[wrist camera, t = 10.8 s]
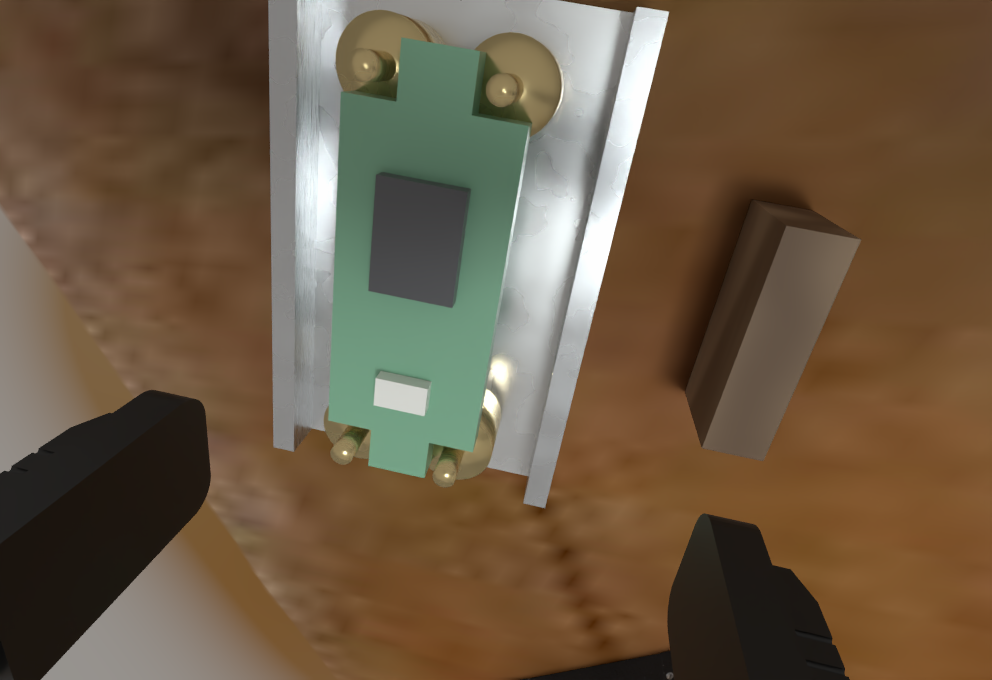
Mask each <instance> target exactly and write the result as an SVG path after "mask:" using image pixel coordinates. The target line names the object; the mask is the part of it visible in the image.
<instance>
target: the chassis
mask: <svg viewBox="0 0 992 680" xmlns="http://www.w3.org/2000/svg"><path fill="white" fill-rule="evenodd" d="M268 9H269V95H270V180H271V266H272V351H273V437H274V447H276V448H280V449H285V450H289V451H293V452H294V451H295V450H296V448H297V447H298V446H299V444H300V443H301V442H302V441H303V439H304V438H305V437H306V436H307V434H308V433H309V432H310V430H311V429H312V428H313V429H318V430H322V431H326V434H327V436H328V437H329V439H330V440H331V442H332V443H333V444H334V446H333V448H332V449H331V457H332V459H333V460H334V461H335V462H337V463H339V464H348V463H350V462H351V460H352V459H353V457H357V458H364V459H369V451H370V438H371V430H369V429H365V428H360V427H355V426H351V425H346V424H342V423H337V422H333V421H328V415H329V388H330V362H331V336H332V309H333V283H334V257H335V230H336V204H337V178H338V151H339V125H340V99H341V92H344V91H359V92H364V93H370V94H375V95H381V96H386V97H392V98H397V87H398V74H399V61H400V48H401V37H402V38H408V39H414V40H420V41H425V42H431V43H437V44H442V45H448V46H454V47H460V48H465V49H471V50H477V51H482V52H486V60H485V67H484V75H483V82H482V90H481V97H480V104H479V112H478V113H480V114H485V115H491V116H496V117H502V118H507V119H513V120H518V121H524V122H529V123H532V128H531V134H530V140H529V145H528V151H527V157H526V163H525V168H524V174H523V180H522V186H521V191H520V197H519V203H518V209H517V214H516V220H515V226H514V231H513V237H512V243H511V249H510V254H509V260H508V266H507V272H506V277H505V283H504V289H503V295H502V300H501V306H500V312H499V318H498V323H497V329H496V335H495V341H494V346H493V352H492V358H491V364H490V369H489V375H488V381H487V387H486V392H485V398H484V404H483V410H482V415H481V421H480V427H479V432H478V437H477V440H476V444H475V447H474V450H473V452H469V451H464V450H460V449H455V448H451V447H446V446H442V445H437V444H434V445H433V453H432V460H431V463H430V465H429V468H430V469H431V470H433V471H434V473H433V480H434V482H435V483H436V484H437V485H439V486H441V487H450V486H452V485H453V484H454V482H455V479H468V478H472V477H474V476H477V475H478V474H480V473H481V472H483V471H484V470H485V469H486V467H489V468H494V469H498V470H503V471H507V472H512V473H516V474H521V475H525V476H527V483H526V489H525V496H524V502H523V503H525V504H529V505H534V506H538V507H543V508H545V505H546V501H547V497H548V493H549V489H550V485H551V481H552V477H553V473H554V469H555V465H556V461H557V457H558V453H559V449H560V445H561V441H562V437H563V434H564V430H565V426H566V422H567V418H568V414H569V410H570V406H571V402H572V398H573V394H574V390H575V386H576V382H577V378H578V374H579V370H580V366H581V362H582V358H583V354H584V350H585V346H586V342H587V338H588V334H589V330H590V326H591V322H592V318H593V314H594V310H595V306H596V302H597V298H598V294H599V290H600V286H601V282H602V278H603V274H604V270H605V266H606V262H607V258H608V254H609V250H610V246H611V242H612V238H613V234H614V230H615V226H616V222H617V218H618V214H619V210H620V206H621V202H622V198H623V194H624V190H625V186H626V182H627V178H628V174H629V170H630V166H631V162H632V158H633V154H634V150H635V146H636V142H637V138H638V134H639V130H640V126H641V122H642V118H643V114H644V110H645V106H646V102H647V98H648V94H649V90H650V86H651V82H652V78H653V74H654V70H655V66H656V62H657V58H658V54H659V50H660V47H661V43H662V39H663V35H664V31H665V27H666V23H667V19H668V15H669V12H667V11H661V10H655V9H649V8H643V7H636V9H635V10H634V12H633V13H631V12H625V11H619V10H613V9H607V8H601V7H595V6H589V5H583V4H577V3H571V2H565V1H559V0H268Z"/></svg>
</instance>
